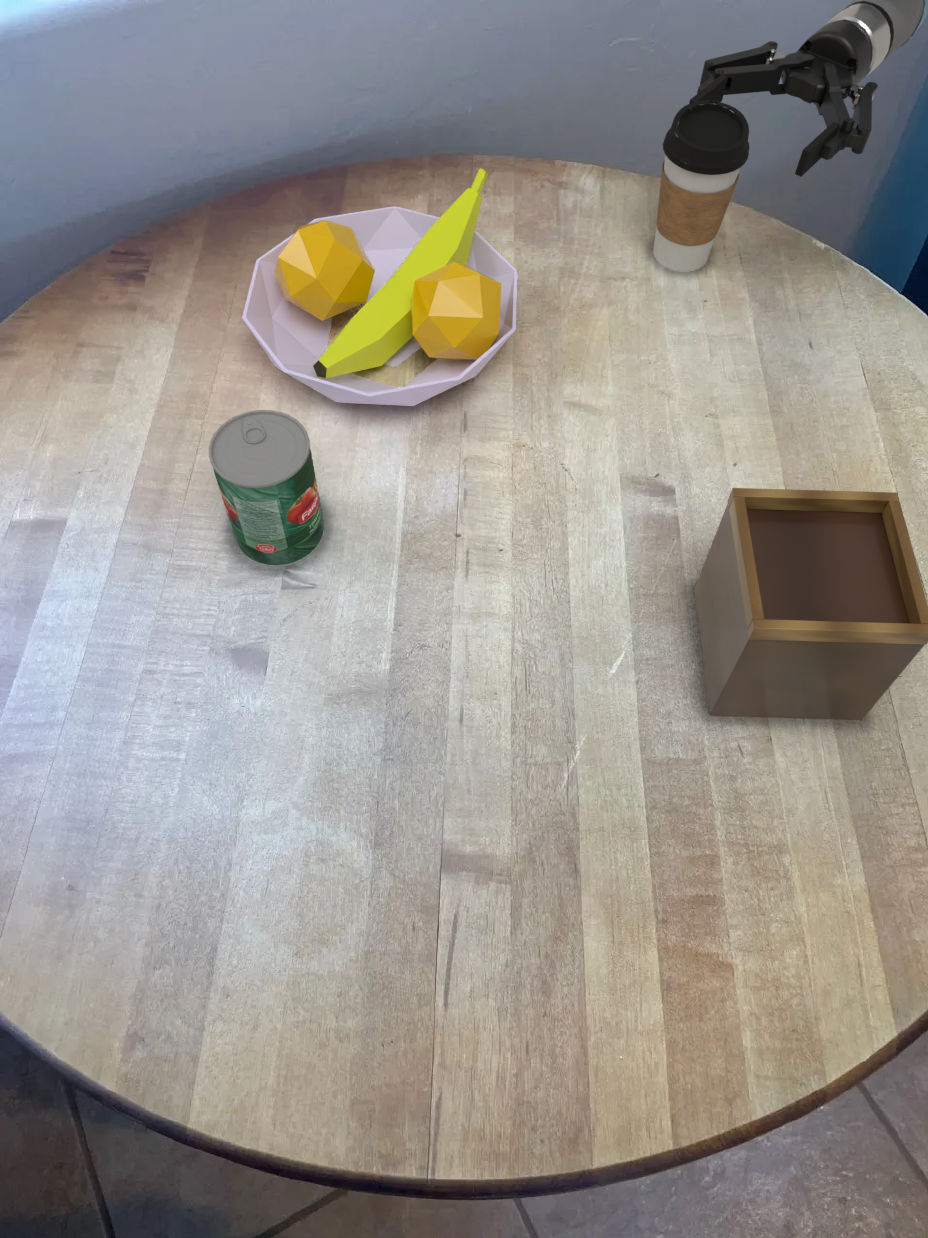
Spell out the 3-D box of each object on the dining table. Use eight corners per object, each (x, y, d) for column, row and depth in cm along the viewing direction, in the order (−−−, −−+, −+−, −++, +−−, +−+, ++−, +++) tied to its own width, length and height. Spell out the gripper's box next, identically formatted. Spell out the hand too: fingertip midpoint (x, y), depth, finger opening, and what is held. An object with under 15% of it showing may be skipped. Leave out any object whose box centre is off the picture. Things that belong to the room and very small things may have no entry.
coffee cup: (720, 235, 107) (756, 103, 94) (717, 285, 102) (755, 153, 90) (644, 226, 108) (670, 93, 95) (638, 275, 103) (664, 143, 90)
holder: (834, 593, 82) (897, 492, 70) (862, 722, 75) (936, 633, 64) (692, 589, 82) (732, 487, 70) (708, 717, 76) (754, 628, 64)
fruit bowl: (340, 480, 88) (327, 390, 78) (211, 309, 99) (186, 213, 90) (585, 363, 96) (600, 268, 86) (440, 218, 108) (439, 121, 98)
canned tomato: (337, 551, 84) (323, 467, 74) (249, 579, 82) (223, 497, 72) (309, 485, 87) (292, 398, 78) (224, 511, 86) (197, 425, 76)
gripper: (928, 128, 109) (838, 218, 100) (738, 49, 117) (640, 126, 108) (958, 60, 103) (865, 150, 94) (755, -18, 111) (652, 58, 102)
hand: (744, 137), depth 101 cm, fingers open, 13 cm apart
